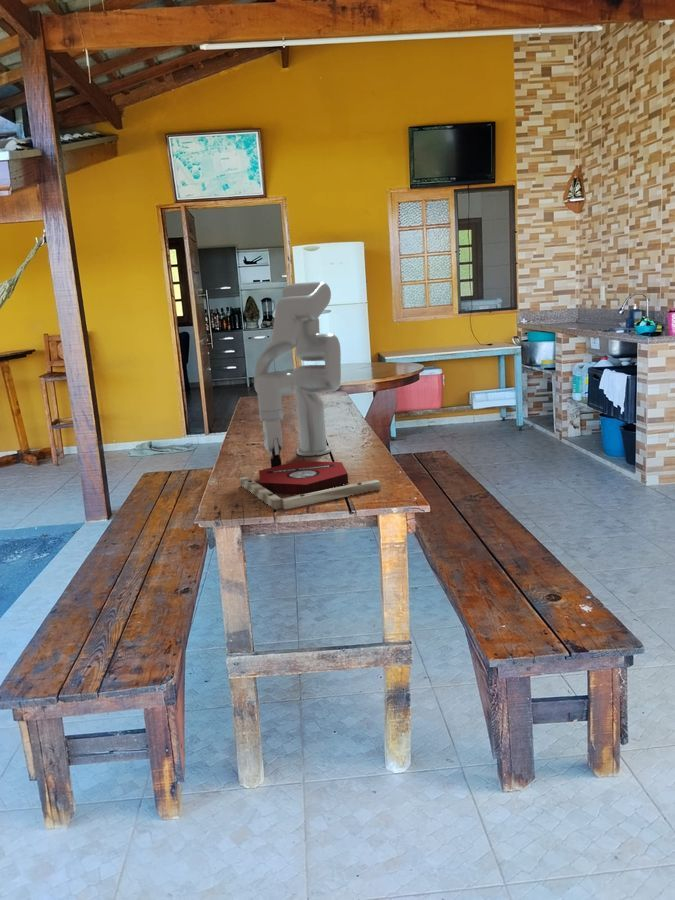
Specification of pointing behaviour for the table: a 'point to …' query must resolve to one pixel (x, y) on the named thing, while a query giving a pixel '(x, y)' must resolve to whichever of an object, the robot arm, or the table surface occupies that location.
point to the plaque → (303, 477)
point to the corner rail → (309, 497)
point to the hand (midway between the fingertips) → (276, 470)
